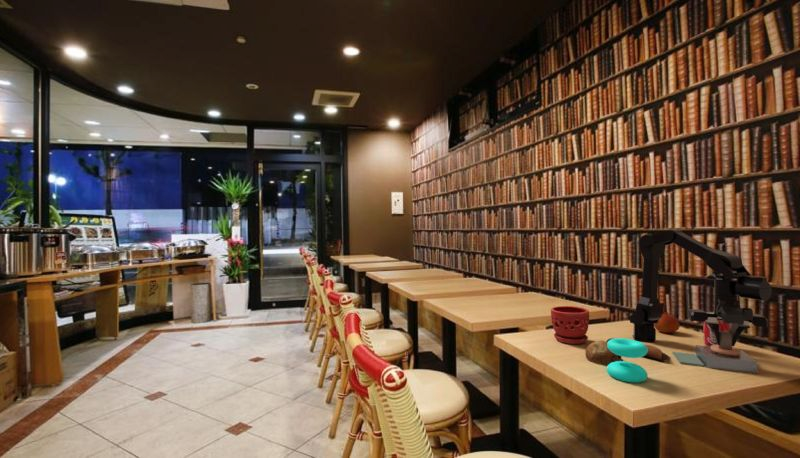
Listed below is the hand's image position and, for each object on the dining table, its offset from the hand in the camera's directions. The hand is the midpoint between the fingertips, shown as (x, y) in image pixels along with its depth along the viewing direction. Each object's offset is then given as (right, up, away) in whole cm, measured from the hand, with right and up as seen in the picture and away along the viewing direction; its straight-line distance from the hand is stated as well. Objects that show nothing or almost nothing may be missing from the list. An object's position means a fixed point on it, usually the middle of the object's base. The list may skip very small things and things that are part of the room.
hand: (725, 345), depth 122 cm
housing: (0, -6, 0) cm, 6 cm away
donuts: (-37, -6, -11) cm, 39 cm away
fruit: (+6, -6, +36) cm, 38 cm away
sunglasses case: (-21, -6, +11) cm, 24 cm away
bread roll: (-36, -6, +3) cm, 37 cm away
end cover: (0, -6, 0) cm, 6 cm away
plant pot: (-38, -6, +24) cm, 46 cm away
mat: (-9, -6, +4) cm, 11 cm away
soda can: (+11, -6, +17) cm, 21 cm away
